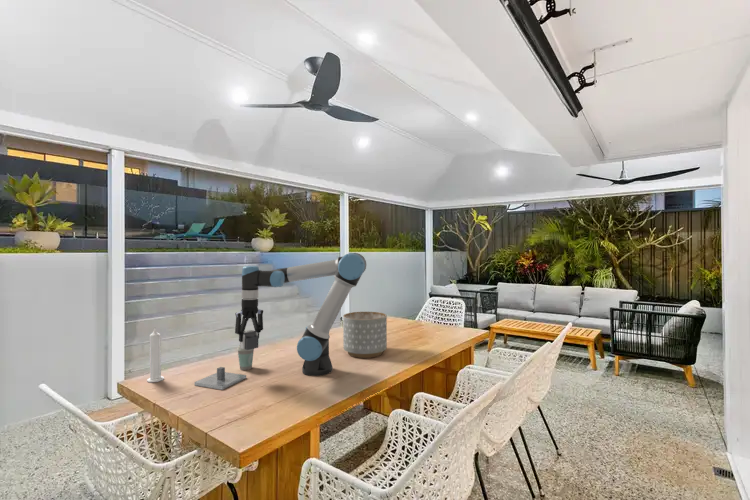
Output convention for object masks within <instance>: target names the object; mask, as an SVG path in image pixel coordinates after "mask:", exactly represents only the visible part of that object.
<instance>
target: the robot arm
mask: <svg viewBox="0 0 750 500" xmlns="http://www.w3.org/2000/svg"><path fill="white" fill-rule="evenodd" d="M366 269H367V260H366V259H365V256H363V255H362V254H360V253H358V252H348V253H347V254H345V255H343V256H338V257H337V258H336V259H333V260H326V261H319V262H314V263H308V264H300V265H295V266H289V267H284V268H277V269H272V270H261V269H259V266H258V265H245V266H243V267H242V271H241V309H240V311H238V312H235V329H234V330H235V331H234V334H235V335H238V342H239V345H240V348H242V349H245V335H244V331H246V327H247V323H248V321H249V319H251V322H252V325H253V328H254V331H256V336H258V340H259V339H260V333H261V332H262V331H263V330H264V321H263V320H264V319H263V317H264V316H263V314H264V310H263V309H259V299H258V298H259V287H271V288H273V287H274V288H278V287H279V288H281V287H283V286H284V284H285V283H286V284H287V283H292V282H299V281H300V282H301V281H305V280H306V281H307V280H312V279H313V280H314V279H318V278H319V279H320V278H325V277H334V281H333V283H332V285H331V287H330V289H329V291H328V292H327V295H326V296H325V298H324V301H323V302H322V305H321V306H320V309H318V310H319V311H318V313H317V314H316V316H315V318H314V320H313V322H312V324H309V325H306V327H305V330H304V333H303V334H302V337H301V338H299V340H298V342H297V344H296V352H297V354H298V356H299V357H300V358H301V360H304V361H303V364H302V369H301V370H302V374H304V375H306V376H311V377H319V376H325V375H329V374H331V373H332V372H333V363H332V360H331V357H330V338H331V337H330V330H331V329H332V326H333V325H334V323H335V321H336V319H337V316H338V315H339V313H340V311H341V309H342V307H343V305H344V303H345V302H346V299H347V298H348V295H349V293H350V292H351V289H352V288H354V287H357V285H358V283H359V281H360V280H361V278H362V275H363V273H364V272H365V271H366Z"/></svg>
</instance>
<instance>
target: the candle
mask: <svg viewBox="0 0 750 500" xmlns="http://www.w3.org/2000/svg"><path fill="white" fill-rule="evenodd" d="M161 340H162V339H161V333H159V332H158V331H157V328H156V327H154V328H153V331H152V332H151V333H150V334H149V377H148V378H147V379H146V382H147V383H159V382H162V381H163V380H165V376H163V375H162V358H161V357H162V354H161V353H162V352H161V349H162V348H161Z"/></svg>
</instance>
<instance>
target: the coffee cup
mask: <svg viewBox="0 0 750 500" xmlns="http://www.w3.org/2000/svg"><path fill="white" fill-rule="evenodd" d="M236 350H237V356H238V362H239V369H240V370H241V371H248V370H251V369H252V368H253V362H254V361H253V359H254V352H255V348H254V349H250V350H245V349H242V348H240V344H239V345H237V348H236Z"/></svg>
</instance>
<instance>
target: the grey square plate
mask: <svg viewBox="0 0 750 500" xmlns="http://www.w3.org/2000/svg"><path fill="white" fill-rule="evenodd" d="M245 379H247V375H246V374H242V373H234V372H227V371H226V367H224V366H220V367H218V368H216V372H215V373H213V374H211V375H208V376H206V377H202V378H201V379H198V380H196V381H194V383H193V385H194V386H196V387H202V388H208V389H215V390H221V391H224V390H225V389H227V388H230V387H231V386H234V385H235V384H237V383H240V382H241V381H244V380H245Z"/></svg>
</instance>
